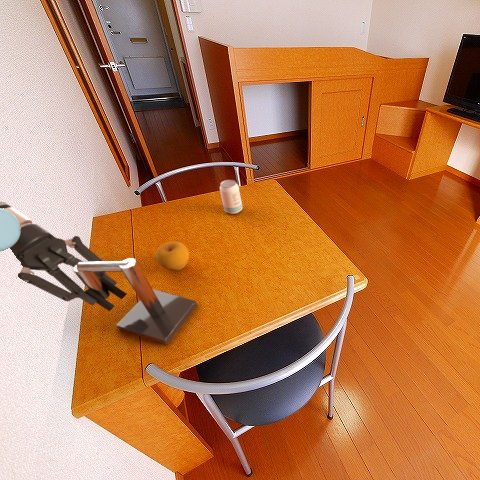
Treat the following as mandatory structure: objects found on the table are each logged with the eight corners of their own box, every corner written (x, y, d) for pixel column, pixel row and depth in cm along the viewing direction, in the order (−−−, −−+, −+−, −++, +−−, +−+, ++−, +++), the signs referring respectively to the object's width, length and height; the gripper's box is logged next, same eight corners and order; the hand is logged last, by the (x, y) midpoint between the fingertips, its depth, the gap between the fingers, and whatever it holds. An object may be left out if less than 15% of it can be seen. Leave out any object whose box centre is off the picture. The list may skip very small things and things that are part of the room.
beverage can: (229, 204, 112) (223, 177, 104) (245, 206, 111) (241, 180, 103) (221, 214, 107) (215, 186, 99) (238, 216, 106) (232, 189, 98)
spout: (165, 306, 71) (138, 257, 60) (161, 317, 69) (131, 267, 57) (113, 307, 70) (75, 258, 59) (106, 318, 68) (65, 268, 56)
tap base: (197, 305, 75) (195, 300, 73) (167, 345, 66) (164, 340, 64) (153, 293, 77) (151, 288, 76) (119, 329, 68) (115, 325, 67)
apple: (155, 274, 82) (143, 252, 76) (174, 254, 89) (164, 233, 83) (182, 280, 81) (172, 258, 75) (199, 259, 88) (191, 238, 82)
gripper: (51, 220, 65) (138, 282, 73) (-29, 267, 53) (85, 335, 61) (56, 206, 61) (148, 273, 69) (-31, 253, 49) (92, 328, 57)
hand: (118, 302), depth 65 cm, fingers closed on spout, 3 cm apart
